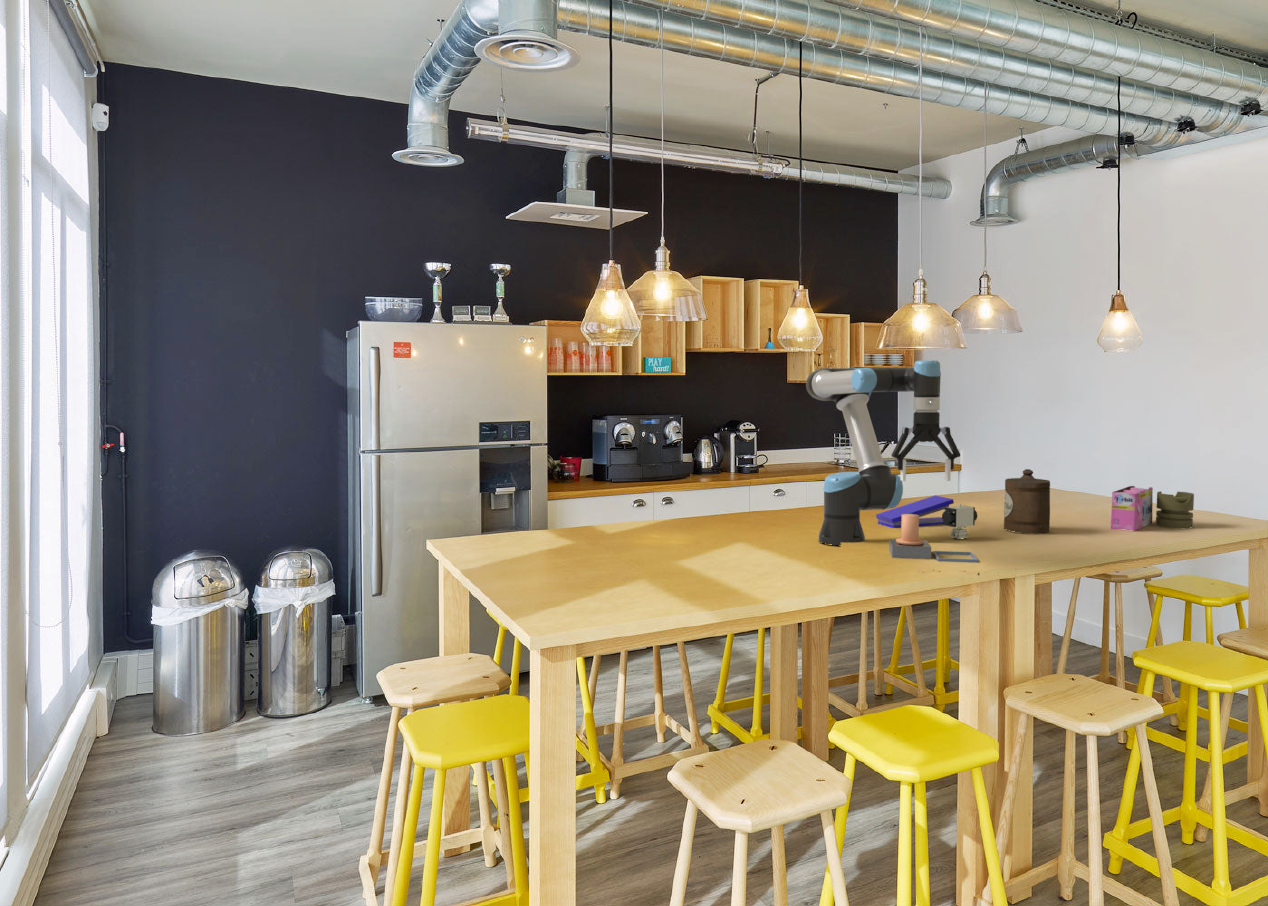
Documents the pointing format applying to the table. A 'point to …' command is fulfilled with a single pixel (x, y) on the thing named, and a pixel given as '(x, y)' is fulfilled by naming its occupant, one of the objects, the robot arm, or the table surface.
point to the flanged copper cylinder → (910, 530)
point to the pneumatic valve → (959, 519)
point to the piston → (1175, 510)
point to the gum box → (1131, 508)
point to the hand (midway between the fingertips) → (925, 480)
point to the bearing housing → (910, 550)
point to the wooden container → (1027, 504)
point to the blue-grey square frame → (955, 554)
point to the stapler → (916, 512)
